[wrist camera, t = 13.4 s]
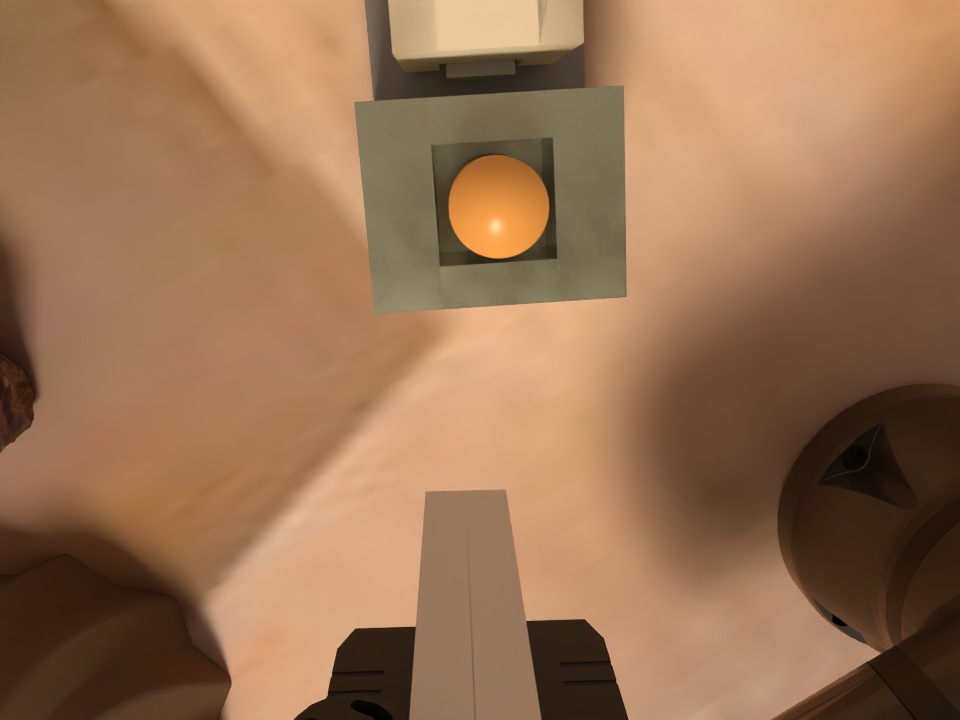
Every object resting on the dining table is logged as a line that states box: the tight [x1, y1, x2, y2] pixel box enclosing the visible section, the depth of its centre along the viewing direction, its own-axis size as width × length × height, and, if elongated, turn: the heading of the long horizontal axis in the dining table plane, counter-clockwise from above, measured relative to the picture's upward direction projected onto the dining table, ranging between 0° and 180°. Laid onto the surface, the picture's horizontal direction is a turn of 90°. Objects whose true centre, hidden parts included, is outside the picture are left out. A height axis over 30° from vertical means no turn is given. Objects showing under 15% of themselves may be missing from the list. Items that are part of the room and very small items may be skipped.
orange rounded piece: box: [448, 154, 549, 258], centre depth 32 cm, size 4×4×4 cm
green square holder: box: [354, 86, 627, 314], centre depth 37 cm, size 10×8×10 cm
